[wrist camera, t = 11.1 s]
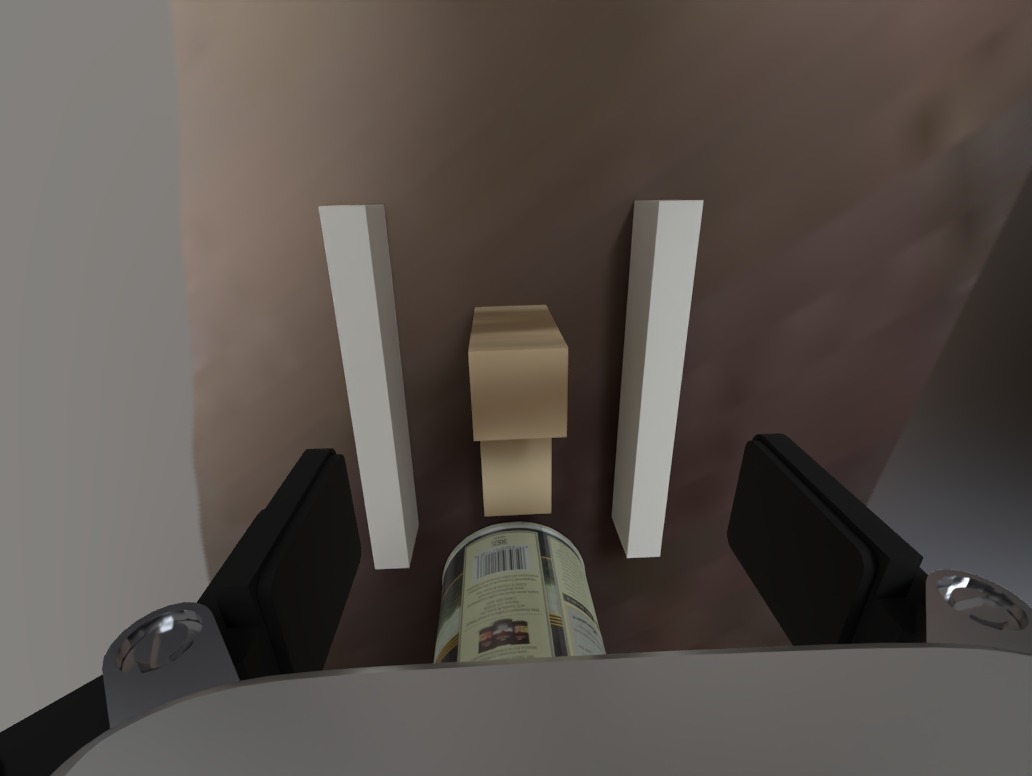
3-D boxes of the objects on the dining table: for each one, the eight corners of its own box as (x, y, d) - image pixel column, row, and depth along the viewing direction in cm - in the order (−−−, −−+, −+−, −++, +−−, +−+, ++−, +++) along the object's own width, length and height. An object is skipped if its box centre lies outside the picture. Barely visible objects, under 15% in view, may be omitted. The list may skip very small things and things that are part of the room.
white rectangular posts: (344, 204, 24) (318, 206, 21) (672, 199, 25) (703, 200, 21) (388, 526, 32) (375, 569, 28) (640, 515, 33) (659, 556, 29)
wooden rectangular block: (474, 306, 27) (468, 351, 19) (545, 304, 27) (568, 348, 19) (485, 488, 31) (482, 585, 23) (546, 485, 31) (564, 581, 24)
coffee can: (503, 653, 37) (509, 904, 24) (412, 572, 33) (361, 813, 20) (614, 585, 35) (688, 819, 22) (529, 492, 31) (557, 702, 18)
